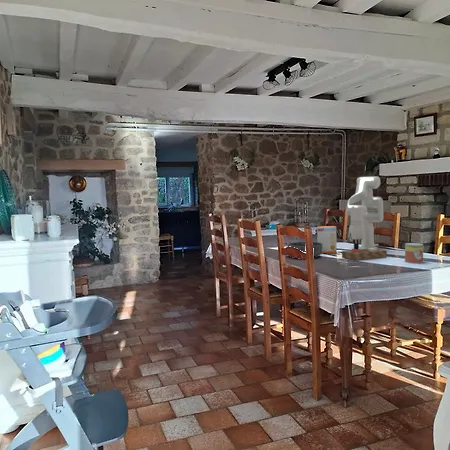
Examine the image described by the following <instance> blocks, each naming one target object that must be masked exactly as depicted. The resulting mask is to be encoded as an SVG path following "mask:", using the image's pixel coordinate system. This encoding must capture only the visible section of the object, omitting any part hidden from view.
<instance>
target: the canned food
mask: <svg viewBox="0 0 450 450" xmlns="http://www.w3.org/2000/svg"><path fill="white" fill-rule="evenodd" d="M404 262H405V263H408V264H409V263H410V264H422V263H424V243H419V242H418V243H417V242H406V243H404Z"/></svg>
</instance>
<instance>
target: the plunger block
mask: <svg viewBox="0 0 450 450" xmlns="http://www.w3.org/2000/svg"><path fill="white" fill-rule="evenodd" d="M376 249H377V250H375V251H370V250H368V249H361V252H352V249H350V250H349V249H348V250H342V251H341V258H342V259H345V260H349V261H353V262H357V261H366V260H367V261H368V260H377V259H385V258H388V257H387V256H388V252H387V250H385V249H380V248H376Z"/></svg>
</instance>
